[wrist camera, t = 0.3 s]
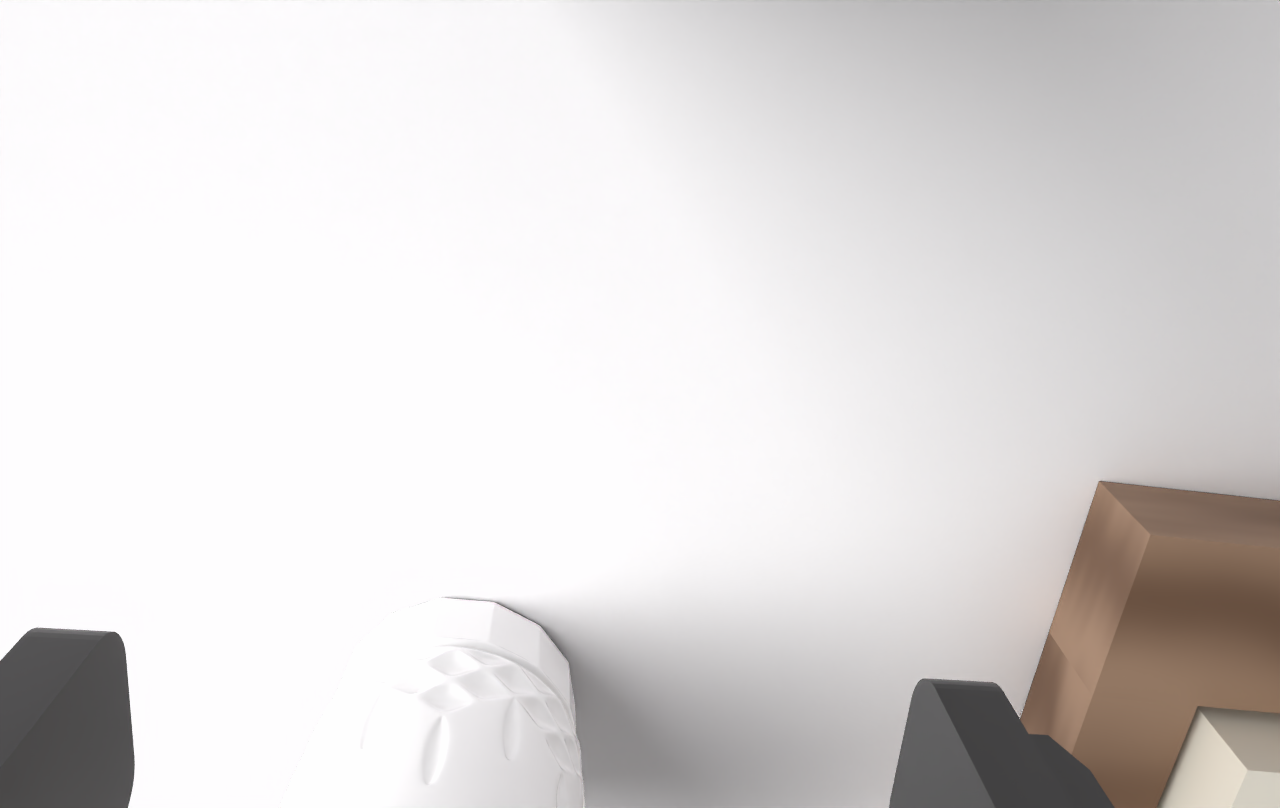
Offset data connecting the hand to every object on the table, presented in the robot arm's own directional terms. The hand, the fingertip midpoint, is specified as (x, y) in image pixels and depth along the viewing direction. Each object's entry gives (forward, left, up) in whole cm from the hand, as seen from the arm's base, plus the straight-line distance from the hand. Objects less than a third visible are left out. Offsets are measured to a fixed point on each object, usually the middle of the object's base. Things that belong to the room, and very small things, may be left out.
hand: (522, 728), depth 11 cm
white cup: (+13, -2, -18) cm, 22 cm away
